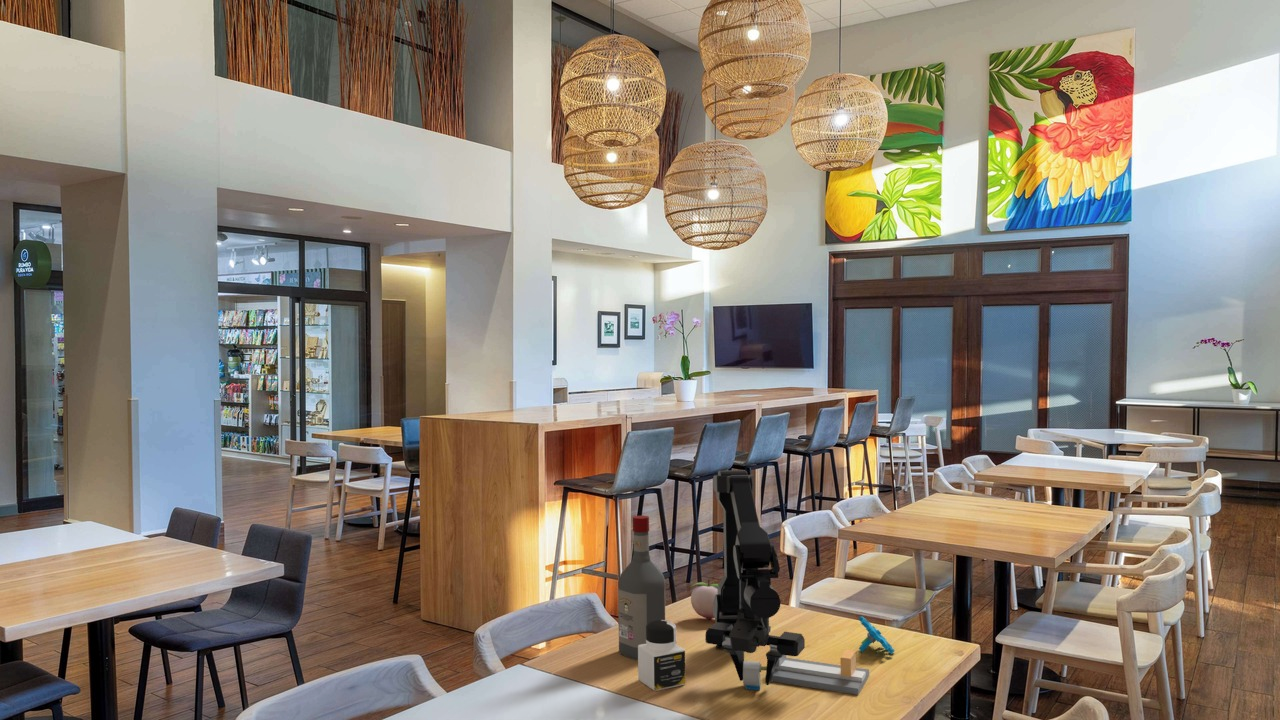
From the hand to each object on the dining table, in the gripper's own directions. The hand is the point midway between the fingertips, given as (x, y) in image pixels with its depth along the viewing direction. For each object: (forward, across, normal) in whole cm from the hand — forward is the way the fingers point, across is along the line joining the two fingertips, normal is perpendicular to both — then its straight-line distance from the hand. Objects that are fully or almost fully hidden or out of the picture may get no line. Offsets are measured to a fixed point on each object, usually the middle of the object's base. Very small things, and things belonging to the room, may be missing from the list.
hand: (754, 682), depth 165 cm
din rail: (+1, +10, +10) cm, 14 cm away
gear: (+1, +18, +31) cm, 36 cm away
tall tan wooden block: (-1, +16, +10) cm, 19 cm away
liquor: (+2, -29, +9) cm, 30 cm away
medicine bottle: (+1, -18, -5) cm, 19 cm away
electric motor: (+1, 0, 0) cm, 1 cm away
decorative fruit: (+1, -24, +37) cm, 44 cm away
